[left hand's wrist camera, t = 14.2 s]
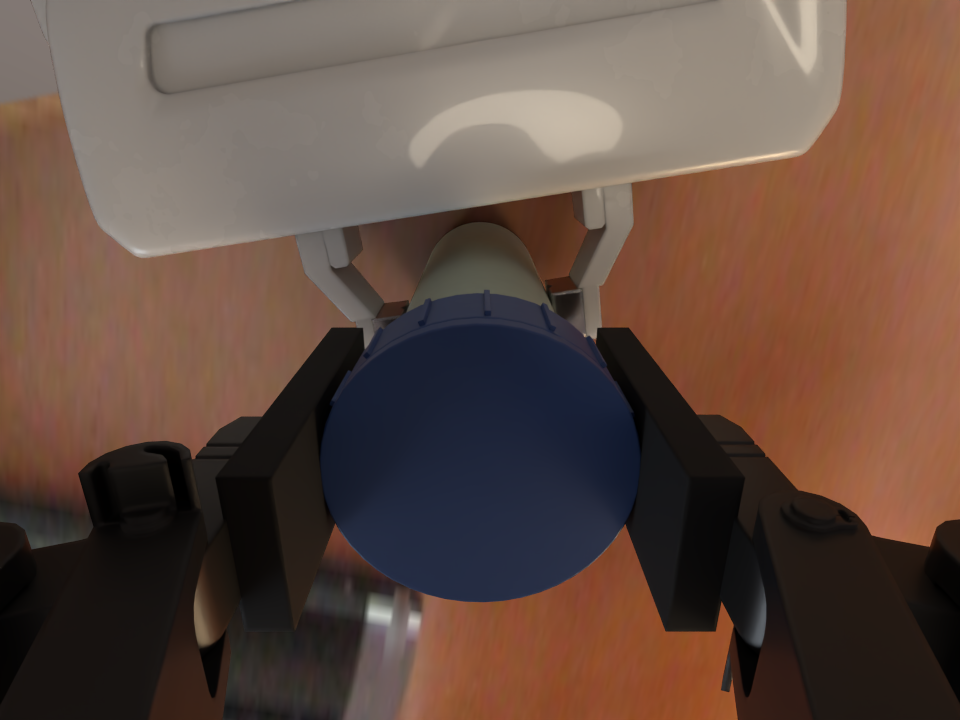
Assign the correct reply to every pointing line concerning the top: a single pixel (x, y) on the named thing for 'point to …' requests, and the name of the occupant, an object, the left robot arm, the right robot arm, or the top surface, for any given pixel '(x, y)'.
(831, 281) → the top surface
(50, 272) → the top surface
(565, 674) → the top surface
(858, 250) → the top surface
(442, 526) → the lid
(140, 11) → the right robot arm
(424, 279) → the screw-top jar
